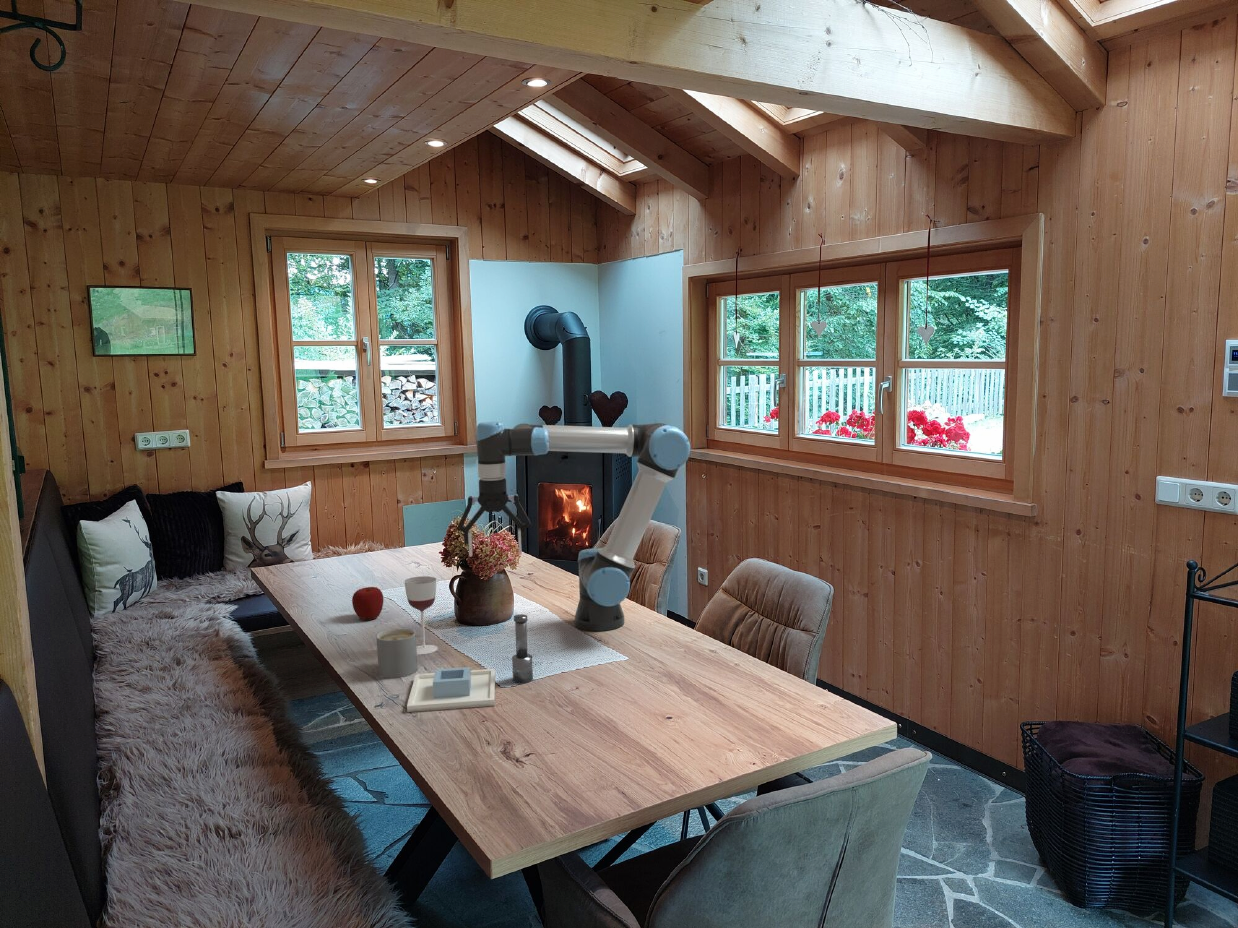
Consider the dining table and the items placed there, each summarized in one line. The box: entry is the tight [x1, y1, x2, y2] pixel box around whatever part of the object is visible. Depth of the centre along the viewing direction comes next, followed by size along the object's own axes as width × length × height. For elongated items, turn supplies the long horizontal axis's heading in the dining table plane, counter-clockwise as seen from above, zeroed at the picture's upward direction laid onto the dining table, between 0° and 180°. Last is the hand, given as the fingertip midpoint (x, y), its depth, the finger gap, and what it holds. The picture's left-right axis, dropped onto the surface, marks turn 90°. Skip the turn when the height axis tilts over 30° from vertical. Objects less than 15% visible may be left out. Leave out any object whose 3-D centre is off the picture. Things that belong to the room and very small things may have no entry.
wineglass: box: [404, 575, 439, 655], centre depth 239 cm, size 8×9×20 cm
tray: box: [406, 668, 496, 713], centre depth 209 cm, size 20×20×2 cm
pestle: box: [511, 614, 534, 684], centre depth 216 cm, size 5×5×16 cm
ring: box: [433, 666, 471, 698], centre depth 209 cm, size 8×8×4 cm
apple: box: [351, 586, 384, 621], centre depth 270 cm, size 10×10×10 cm
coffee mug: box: [375, 627, 418, 679], centre depth 226 cm, size 13×10×10 cm
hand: (495, 554), depth 238 cm, fingers open, 13 cm apart
